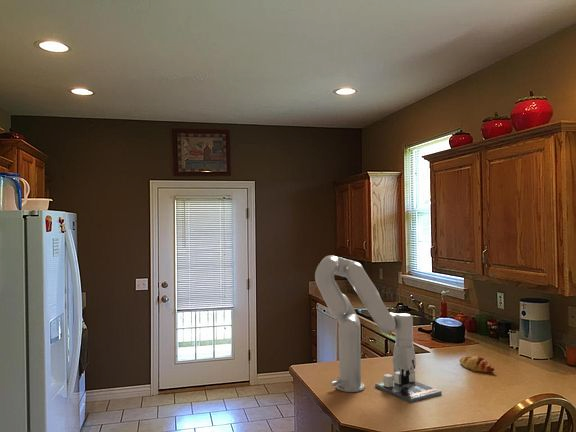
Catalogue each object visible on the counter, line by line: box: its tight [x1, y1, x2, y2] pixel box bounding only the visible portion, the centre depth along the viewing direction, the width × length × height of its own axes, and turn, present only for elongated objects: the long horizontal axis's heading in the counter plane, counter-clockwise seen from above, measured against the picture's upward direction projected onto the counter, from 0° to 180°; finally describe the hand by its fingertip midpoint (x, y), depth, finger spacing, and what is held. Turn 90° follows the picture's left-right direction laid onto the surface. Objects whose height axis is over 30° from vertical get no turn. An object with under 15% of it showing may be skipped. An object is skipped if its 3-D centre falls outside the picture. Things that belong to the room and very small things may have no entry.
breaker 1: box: [382, 373, 394, 387], centre depth 209 cm, size 3×3×4 cm
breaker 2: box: [393, 371, 401, 384], centre depth 212 cm, size 3×3×4 cm
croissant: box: [459, 355, 495, 373], centre depth 238 cm, size 21×10×8 cm, turn 28°
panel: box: [374, 379, 442, 404], centre depth 208 cm, size 18×22×2 cm
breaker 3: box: [407, 370, 416, 382], centre depth 215 cm, size 3×3×4 cm
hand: (405, 383), depth 209 cm, fingers closed
